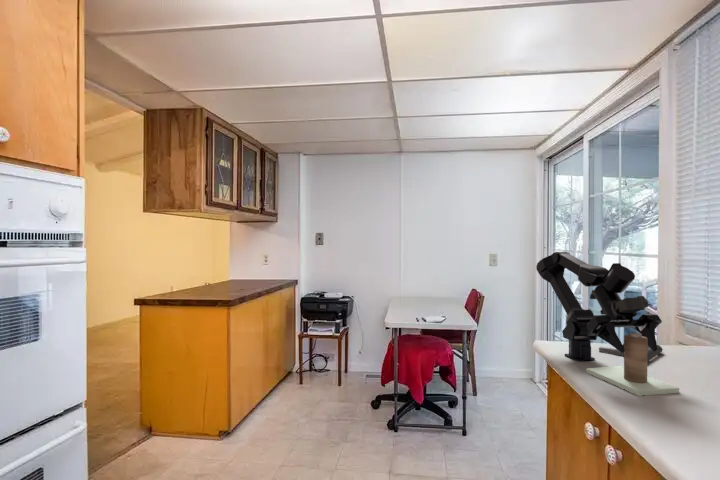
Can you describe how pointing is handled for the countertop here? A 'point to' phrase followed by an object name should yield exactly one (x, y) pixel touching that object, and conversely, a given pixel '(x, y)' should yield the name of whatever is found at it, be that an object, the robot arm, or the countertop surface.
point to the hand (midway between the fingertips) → (639, 351)
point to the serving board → (617, 378)
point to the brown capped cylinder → (635, 357)
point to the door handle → (650, 353)
